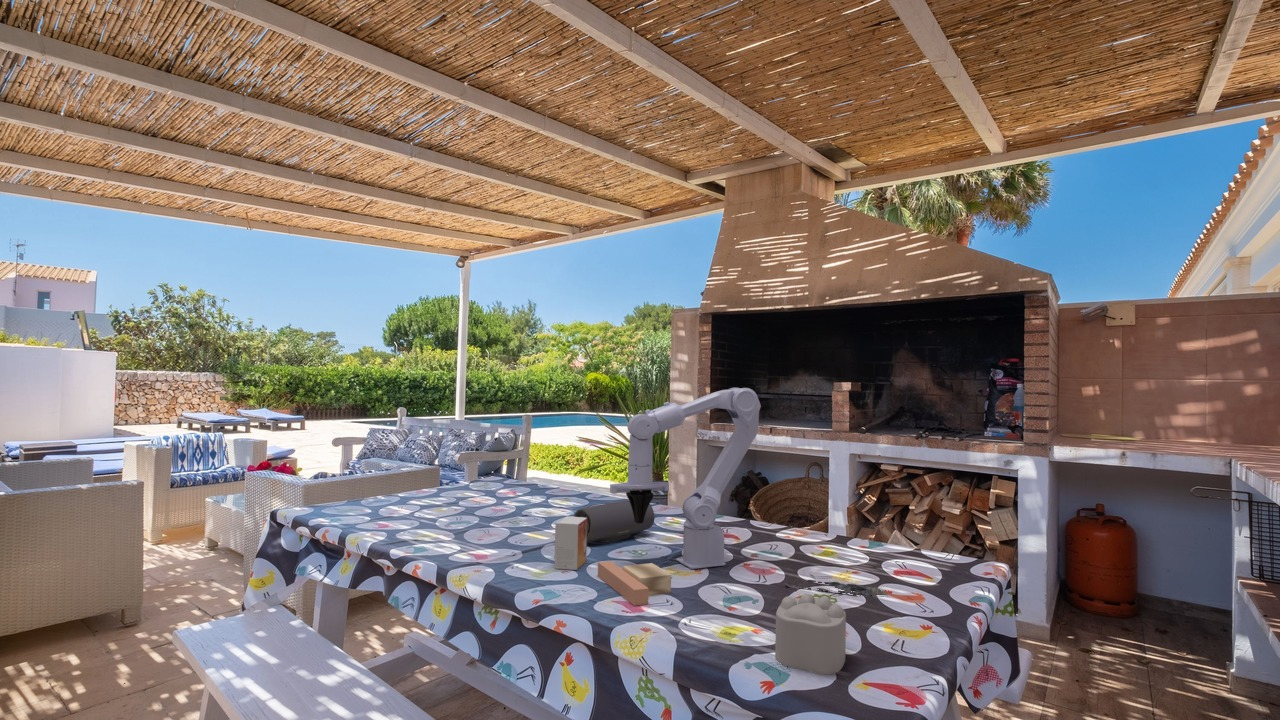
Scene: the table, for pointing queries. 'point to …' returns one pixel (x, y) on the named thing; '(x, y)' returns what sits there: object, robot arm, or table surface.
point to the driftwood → (850, 588)
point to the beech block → (651, 577)
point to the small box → (570, 543)
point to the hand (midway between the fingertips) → (638, 522)
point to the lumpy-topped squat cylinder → (811, 634)
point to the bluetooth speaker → (613, 521)
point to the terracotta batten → (623, 583)
